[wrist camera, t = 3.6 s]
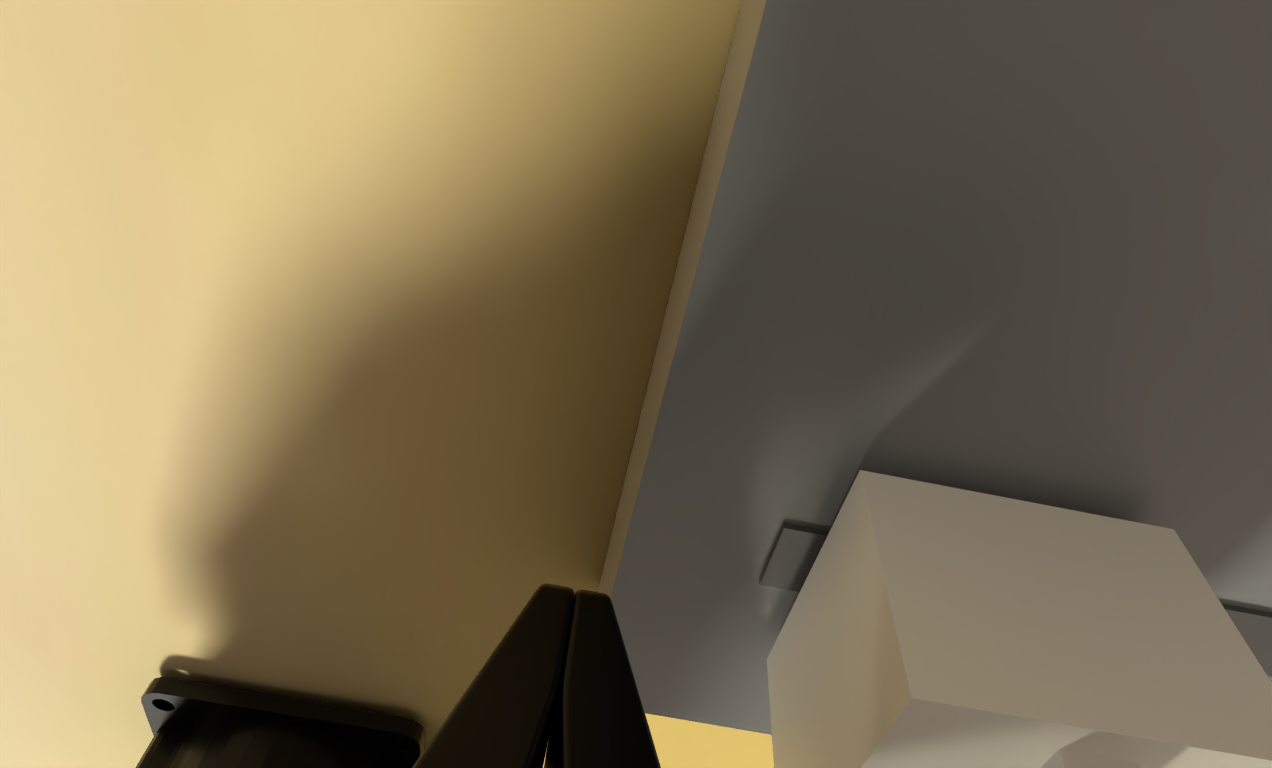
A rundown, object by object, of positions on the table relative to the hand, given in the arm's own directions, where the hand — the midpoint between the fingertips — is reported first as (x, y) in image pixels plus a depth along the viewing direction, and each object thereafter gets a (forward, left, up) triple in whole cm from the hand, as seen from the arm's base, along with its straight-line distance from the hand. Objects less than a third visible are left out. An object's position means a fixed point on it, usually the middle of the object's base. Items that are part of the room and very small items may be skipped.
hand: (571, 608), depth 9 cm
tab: (+5, 0, -1) cm, 5 cm away
